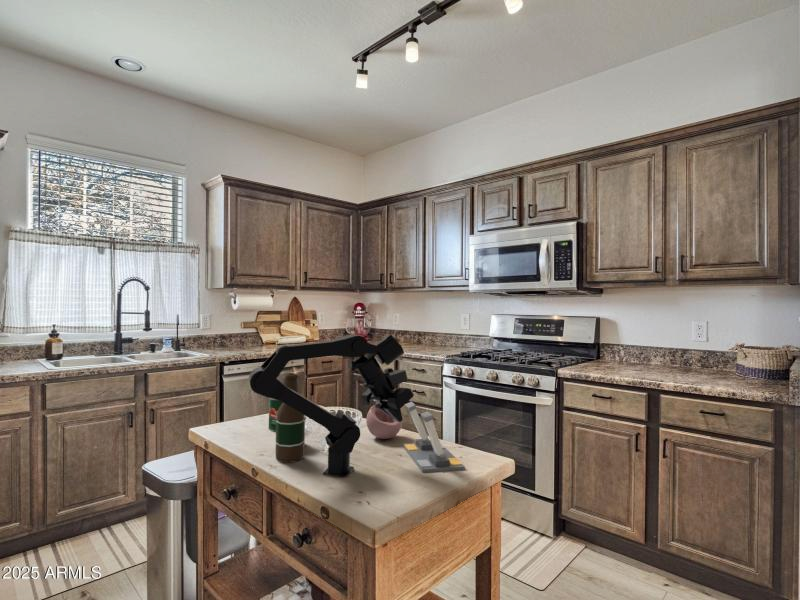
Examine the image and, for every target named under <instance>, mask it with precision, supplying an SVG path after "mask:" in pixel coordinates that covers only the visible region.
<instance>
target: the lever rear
mask: <svg viewBox="0 0 800 600" xmlns="http://www.w3.org/2000/svg"><path fill="white" fill-rule="evenodd" d="M404 406H405V408H406V409H407V410H408V412H409V414H410V417H411V419H412V421H413V424H414V426H415V427H416V430H417V433H418V436H419V437H420V439H423V440H424V441H425V442H426V443H428V442H429V440H430V439H429V435H428V433H427V430H426V429H425V427H424V424H423V423H422V419H421V417H420V415H419V413H418V411H417V405H416V404H415V403H414V402H413V401H410V402H409V401H408V402H407V403H406V404H405V405H404ZM428 439H429V440H428Z"/></svg>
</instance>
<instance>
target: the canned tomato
mask: <svg viewBox="0 0 800 600" xmlns="http://www.w3.org/2000/svg"><path fill="white" fill-rule="evenodd" d="M268 399H269V402H268V406H269V407H268V430H269V431H271V432H276V417H277V412H278V410H279V408H280V406H281V405H282V403H283V402H281V401H279V400H276V399H272V398H268Z"/></svg>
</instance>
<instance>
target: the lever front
mask: <svg viewBox="0 0 800 600" xmlns="http://www.w3.org/2000/svg"><path fill="white" fill-rule="evenodd" d="M420 418H421V420H423V422H424V425H425V428H426V429H425V430H426V433H427V436H428V439H429V440H430V441H431V444H432V447H433V450H434V452H435V453H436V454H437V455H438V456H439V457H440V459H443V458H444V455H443V454H444V453H443V450H442V447H441V444H442V443H441V441H440V439H439V435H438V433H437V429H436V426H435V423H434V421H433V420H434V416H433V414H432V413H430V411H424V412H422V413H420ZM440 443H441V444H440Z"/></svg>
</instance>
